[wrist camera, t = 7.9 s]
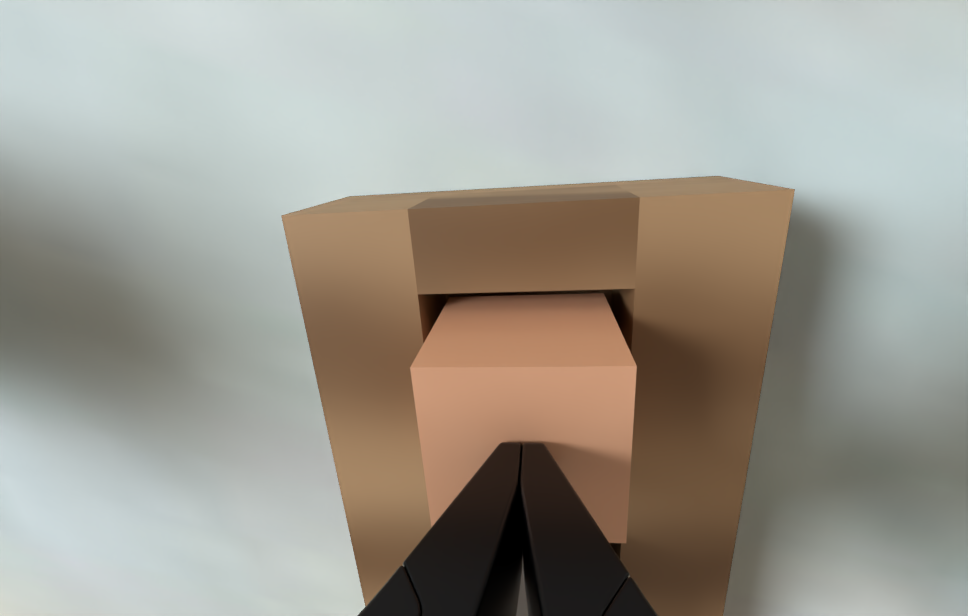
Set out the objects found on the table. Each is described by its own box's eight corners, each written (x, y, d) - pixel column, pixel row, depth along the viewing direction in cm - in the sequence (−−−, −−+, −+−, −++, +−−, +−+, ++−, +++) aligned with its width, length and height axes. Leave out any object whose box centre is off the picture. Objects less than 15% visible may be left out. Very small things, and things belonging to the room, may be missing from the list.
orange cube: (599, 426, 13) (626, 543, 9) (461, 424, 13) (432, 535, 9) (603, 293, 11) (636, 365, 8) (449, 297, 12) (409, 367, 8)
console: (662, 681, 20) (691, 804, 16) (424, 663, 21) (401, 772, 18) (718, 176, 13) (795, 189, 9) (348, 196, 14) (281, 215, 10)
